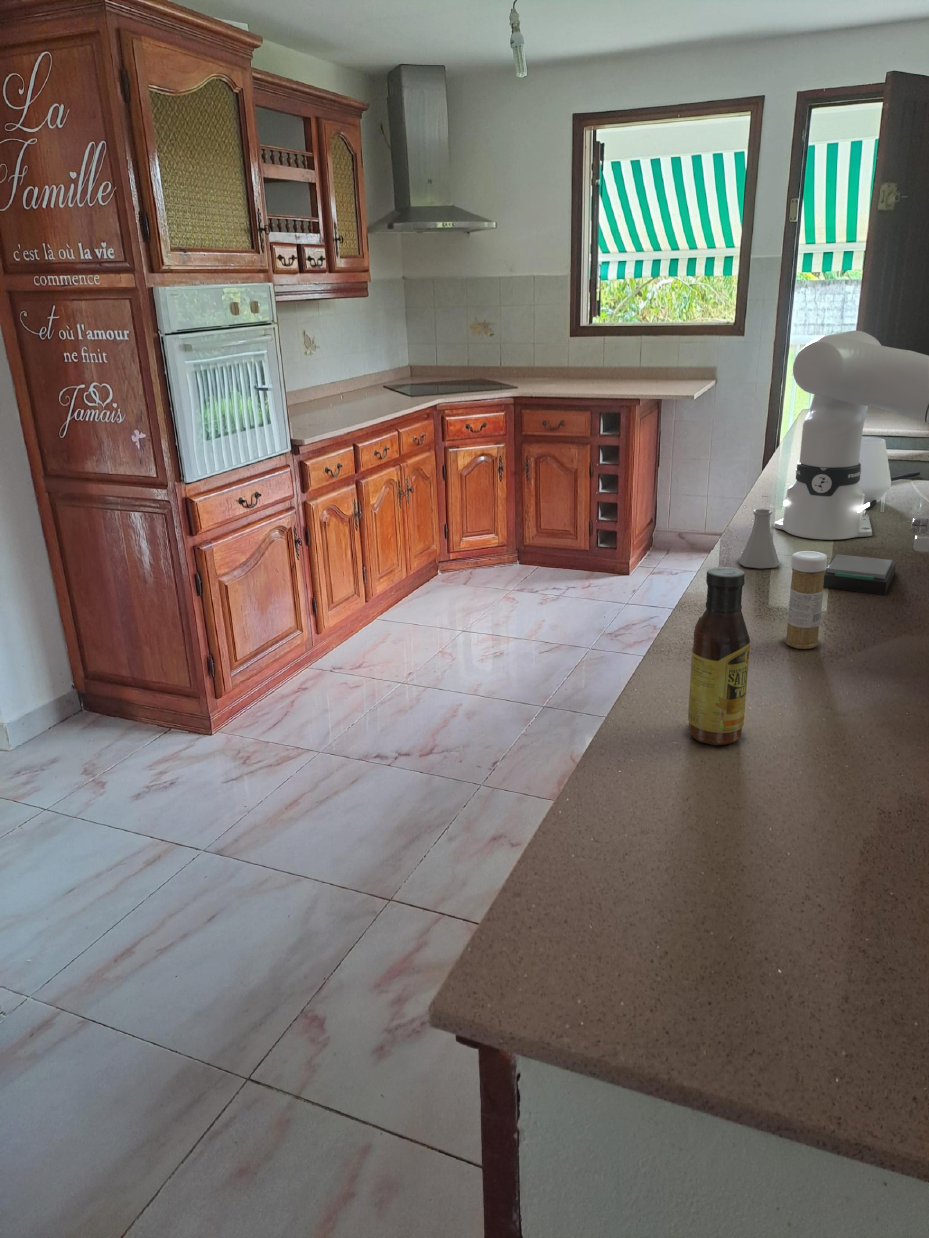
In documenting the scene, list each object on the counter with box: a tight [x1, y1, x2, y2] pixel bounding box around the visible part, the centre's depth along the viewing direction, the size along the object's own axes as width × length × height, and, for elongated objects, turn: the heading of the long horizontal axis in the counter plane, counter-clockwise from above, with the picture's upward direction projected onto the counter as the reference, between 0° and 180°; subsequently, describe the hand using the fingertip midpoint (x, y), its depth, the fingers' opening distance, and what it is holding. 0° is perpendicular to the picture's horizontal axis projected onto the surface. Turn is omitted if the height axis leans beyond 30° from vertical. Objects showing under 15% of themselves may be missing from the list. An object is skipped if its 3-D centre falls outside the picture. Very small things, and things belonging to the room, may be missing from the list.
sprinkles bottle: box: [784, 550, 828, 650], centre depth 124 cm, size 5×5×14 cm
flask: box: [738, 508, 780, 569], centre depth 161 cm, size 7×7×10 cm
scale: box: [823, 553, 897, 596], centre depth 151 cm, size 12×10×3 cm
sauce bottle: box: [687, 566, 751, 746], centre depth 99 cm, size 6×6×20 cm
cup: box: [858, 436, 892, 505], centre depth 202 cm, size 13×13×14 cm
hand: (912, 533), depth 115 cm, fingers open, 8 cm apart
